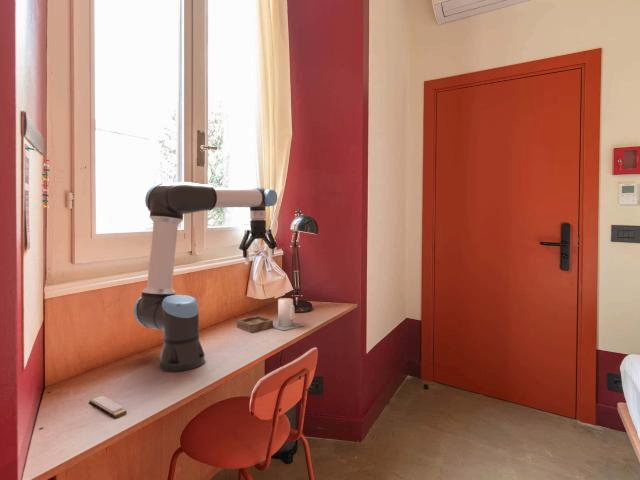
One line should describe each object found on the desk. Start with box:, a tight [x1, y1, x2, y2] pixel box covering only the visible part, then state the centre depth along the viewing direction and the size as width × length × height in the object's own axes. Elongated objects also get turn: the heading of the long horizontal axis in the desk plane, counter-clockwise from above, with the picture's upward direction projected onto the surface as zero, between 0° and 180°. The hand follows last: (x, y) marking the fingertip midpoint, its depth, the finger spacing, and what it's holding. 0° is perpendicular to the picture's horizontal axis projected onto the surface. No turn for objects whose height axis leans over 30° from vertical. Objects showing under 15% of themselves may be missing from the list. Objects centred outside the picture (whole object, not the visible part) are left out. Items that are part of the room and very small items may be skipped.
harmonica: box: [88, 395, 127, 420], centre depth 103 cm, size 15×3×2 cm, turn 54°
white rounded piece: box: [277, 297, 295, 327], centre depth 177 cm, size 7×10×12 cm
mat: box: [272, 321, 304, 332], centre depth 178 cm, size 12×12×1 cm
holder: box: [236, 314, 274, 334], centre depth 176 cm, size 12×12×4 cm
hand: (258, 263), depth 186 cm, fingers open, 13 cm apart
